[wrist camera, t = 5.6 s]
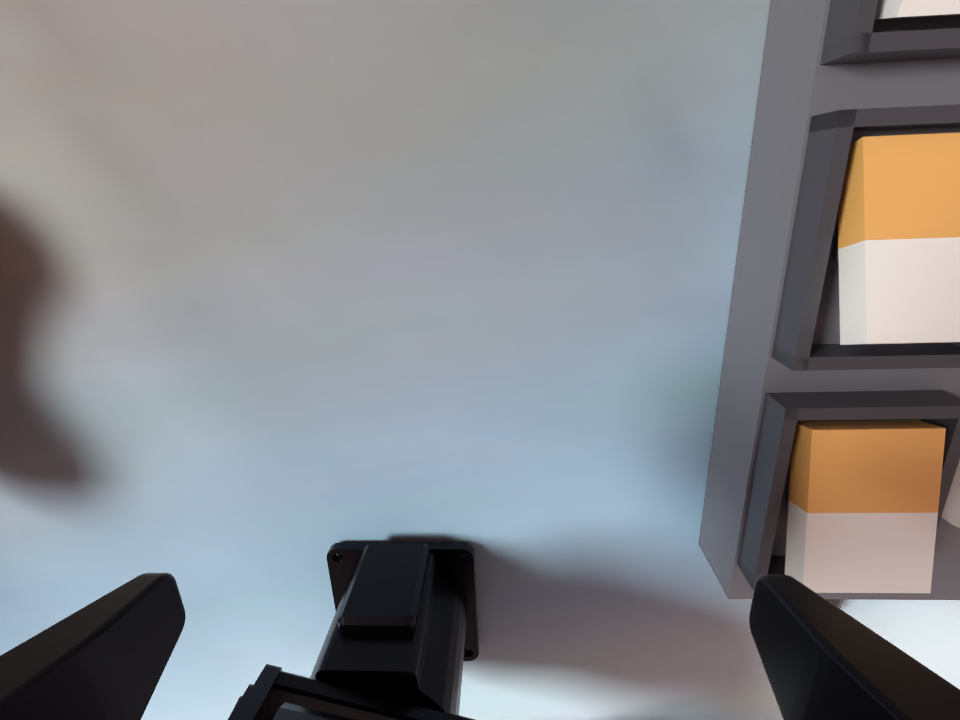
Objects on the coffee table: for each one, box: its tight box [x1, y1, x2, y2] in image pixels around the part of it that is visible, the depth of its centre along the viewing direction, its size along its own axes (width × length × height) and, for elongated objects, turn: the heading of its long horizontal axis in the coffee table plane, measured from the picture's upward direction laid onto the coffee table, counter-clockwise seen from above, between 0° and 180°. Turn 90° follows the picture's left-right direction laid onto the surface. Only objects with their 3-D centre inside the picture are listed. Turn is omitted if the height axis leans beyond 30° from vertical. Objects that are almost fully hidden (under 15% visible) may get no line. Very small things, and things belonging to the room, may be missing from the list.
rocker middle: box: [832, 133, 960, 345], centre depth 13 cm, size 5×4×1 cm
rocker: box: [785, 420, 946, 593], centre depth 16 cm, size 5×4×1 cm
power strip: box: [699, 0, 960, 609], centre depth 15 cm, size 29×10×4 cm, turn 2°
